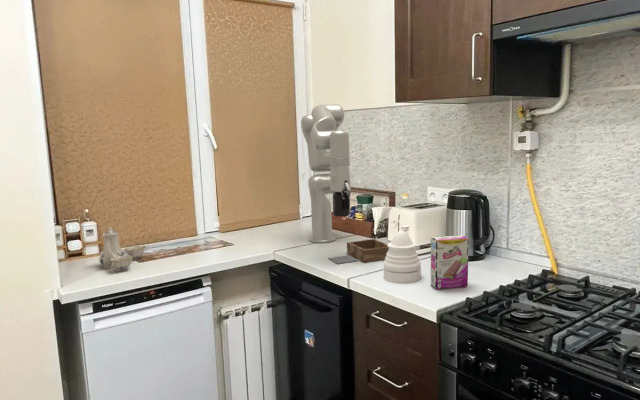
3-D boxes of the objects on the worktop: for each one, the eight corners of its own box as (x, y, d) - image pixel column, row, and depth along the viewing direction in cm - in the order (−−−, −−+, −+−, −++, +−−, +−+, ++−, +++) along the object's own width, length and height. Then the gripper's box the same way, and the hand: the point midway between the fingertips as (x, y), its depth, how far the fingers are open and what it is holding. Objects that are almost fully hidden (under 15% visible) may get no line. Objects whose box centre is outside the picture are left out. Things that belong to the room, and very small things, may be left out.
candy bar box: (436, 290, 155) (435, 240, 153) (430, 285, 160) (429, 237, 158) (469, 287, 157) (469, 237, 155) (462, 282, 162) (462, 234, 160)
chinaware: (134, 277, 190) (134, 235, 188) (88, 276, 187) (88, 233, 185) (147, 259, 217) (148, 222, 215) (107, 258, 215) (108, 221, 212)
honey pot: (400, 270, 179) (400, 222, 177) (428, 277, 169) (428, 226, 167) (376, 277, 171) (374, 227, 169) (403, 285, 161) (402, 232, 159)
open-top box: (347, 254, 205) (346, 242, 204) (374, 250, 210) (374, 238, 209) (364, 262, 190) (364, 250, 190) (393, 258, 195) (393, 246, 195)
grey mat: (328, 259, 198) (328, 257, 198) (348, 256, 202) (348, 255, 202) (337, 264, 190) (337, 263, 190) (358, 261, 193) (358, 260, 193)
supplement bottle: (349, 217, 189) (348, 186, 188) (331, 217, 191) (330, 186, 189) (351, 214, 196) (350, 184, 194) (334, 214, 197) (333, 184, 196)
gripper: (322, 162, 197) (324, 205, 199) (340, 164, 181) (342, 211, 183) (339, 161, 200) (341, 204, 202) (358, 163, 184) (359, 209, 186)
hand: (341, 207), depth 193 cm, fingers closed on supplement bottle, 6 cm apart
